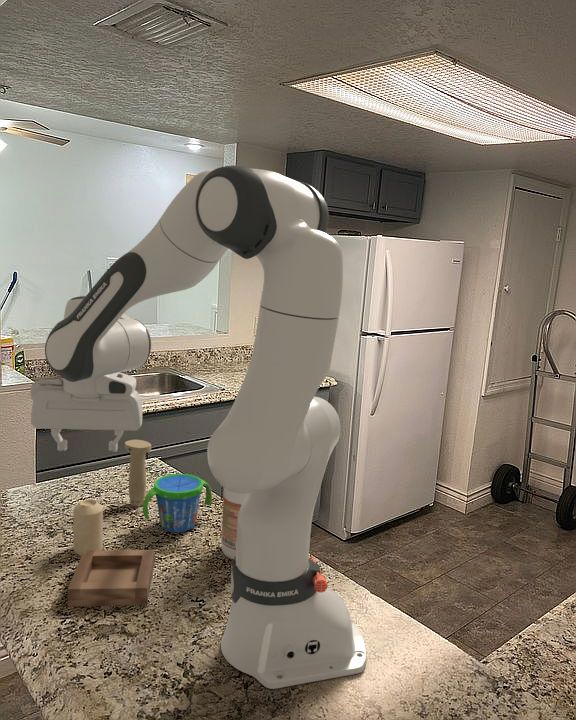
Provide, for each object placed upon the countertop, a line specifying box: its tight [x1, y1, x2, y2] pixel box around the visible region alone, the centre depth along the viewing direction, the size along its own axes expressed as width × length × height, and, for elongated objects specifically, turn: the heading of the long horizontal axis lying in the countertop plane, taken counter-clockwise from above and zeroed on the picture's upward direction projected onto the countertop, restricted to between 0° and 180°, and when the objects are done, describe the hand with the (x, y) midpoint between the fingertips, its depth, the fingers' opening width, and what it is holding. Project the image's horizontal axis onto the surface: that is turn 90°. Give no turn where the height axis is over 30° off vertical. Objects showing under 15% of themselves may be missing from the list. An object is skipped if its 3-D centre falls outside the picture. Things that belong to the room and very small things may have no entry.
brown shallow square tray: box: [67, 549, 155, 608], centre depth 107 cm, size 13×13×3 cm
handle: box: [124, 439, 152, 508], centre depth 139 cm, size 5×6×15 cm
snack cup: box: [142, 473, 213, 534], centre depth 130 cm, size 16×10×10 cm
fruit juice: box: [220, 487, 249, 560], centre depth 119 cm, size 9×9×28 cm
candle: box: [72, 499, 104, 556], centre depth 118 cm, size 6×6×10 cm
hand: (87, 450), depth 115 cm, fingers open, 8 cm apart
